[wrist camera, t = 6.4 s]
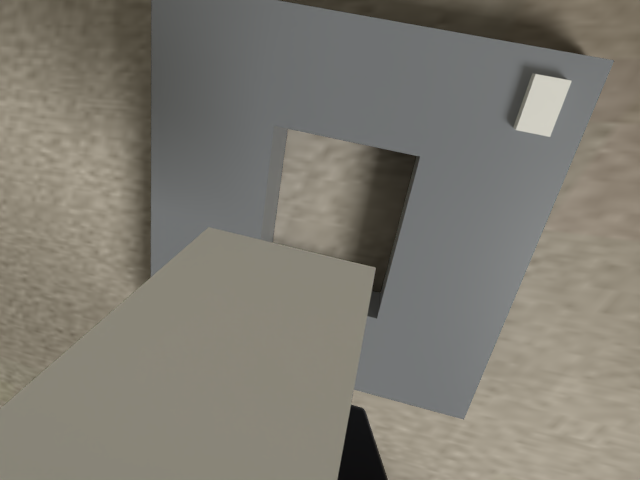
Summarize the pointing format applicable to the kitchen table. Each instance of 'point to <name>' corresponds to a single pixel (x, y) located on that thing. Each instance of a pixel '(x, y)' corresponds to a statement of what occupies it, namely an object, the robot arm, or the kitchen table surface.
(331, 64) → the socket plate
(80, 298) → the kitchen table surface
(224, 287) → the plug
